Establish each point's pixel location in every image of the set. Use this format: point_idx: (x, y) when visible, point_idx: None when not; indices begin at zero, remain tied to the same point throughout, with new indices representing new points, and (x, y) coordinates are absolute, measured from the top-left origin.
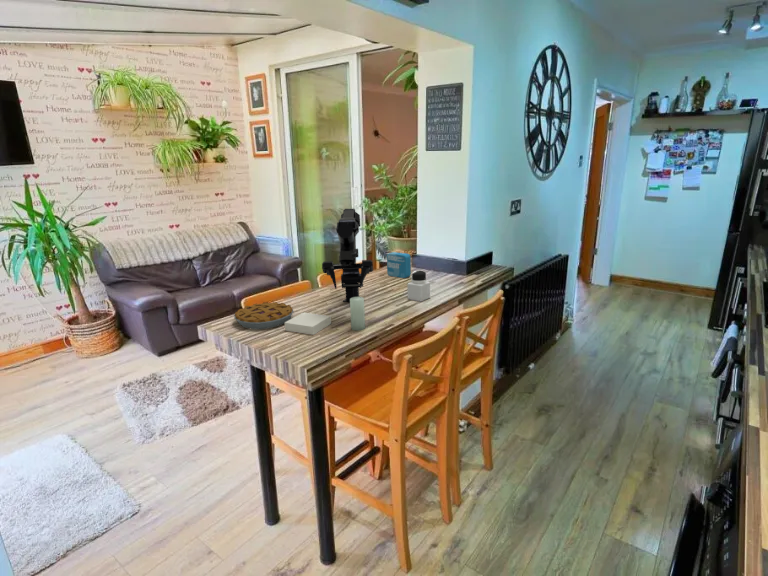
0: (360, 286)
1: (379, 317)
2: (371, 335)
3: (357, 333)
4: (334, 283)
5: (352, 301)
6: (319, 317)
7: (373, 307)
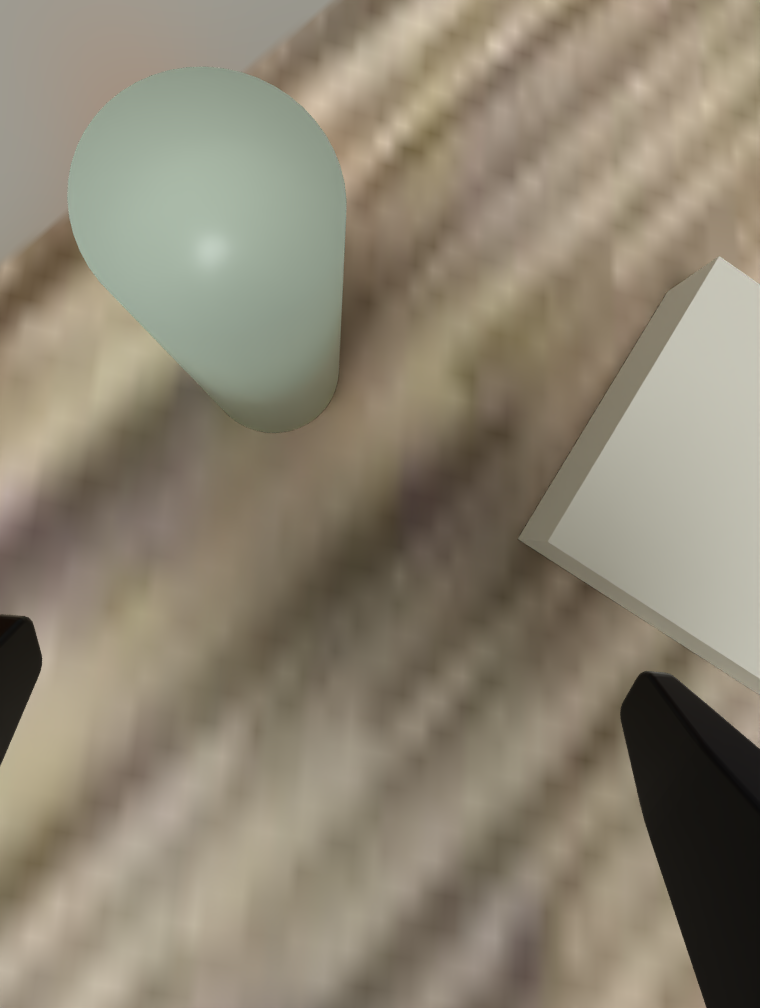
0: (4, 625)
1: None
2: None
3: None
4: (757, 762)
5: (305, 120)
6: (662, 515)
7: (36, 974)
